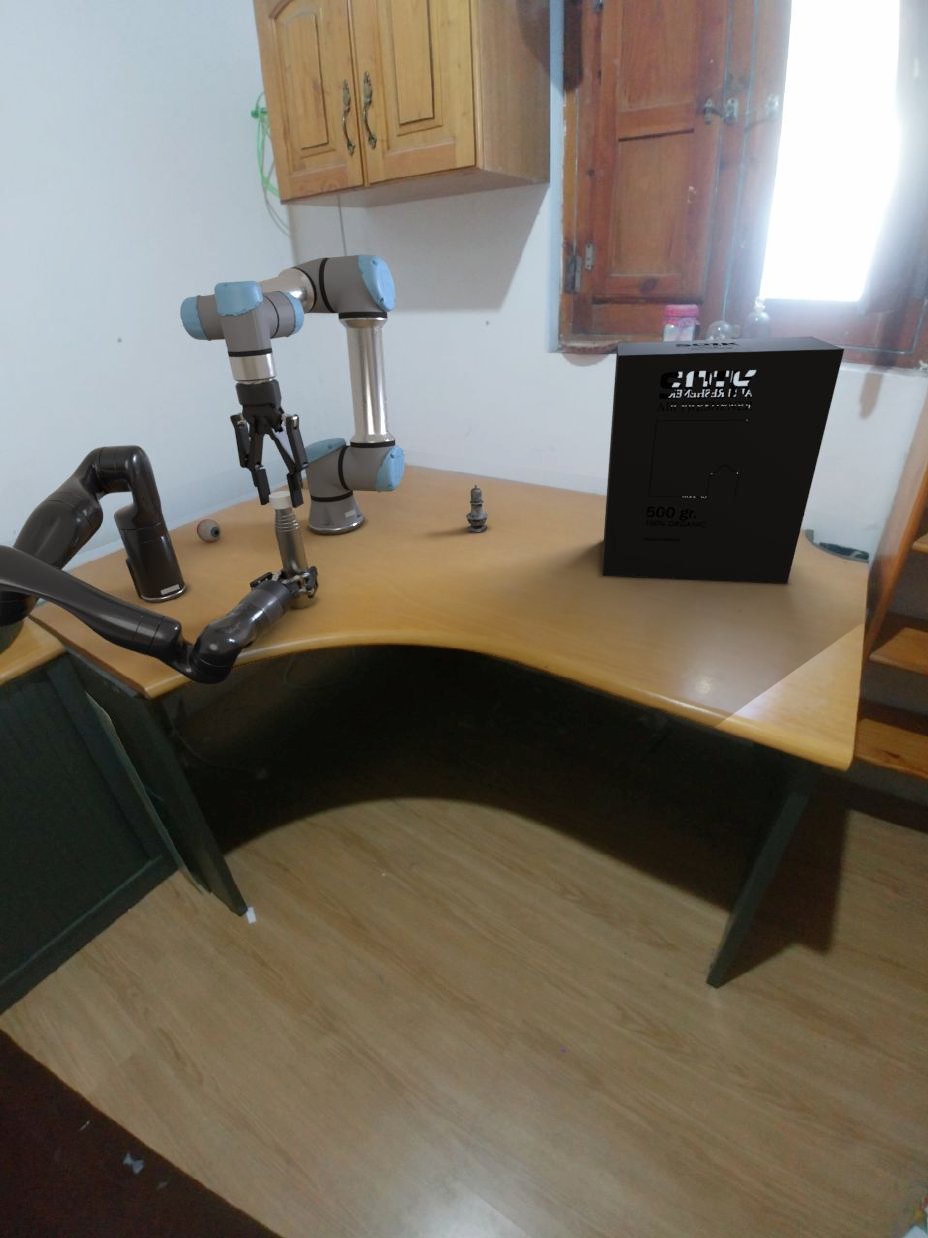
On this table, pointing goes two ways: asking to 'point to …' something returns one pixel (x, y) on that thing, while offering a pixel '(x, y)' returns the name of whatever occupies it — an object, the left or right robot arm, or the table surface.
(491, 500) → the table surface
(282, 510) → the bottle
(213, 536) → the eyeball
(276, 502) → the cap
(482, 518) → the grey upright piece
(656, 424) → the black rectangular box
